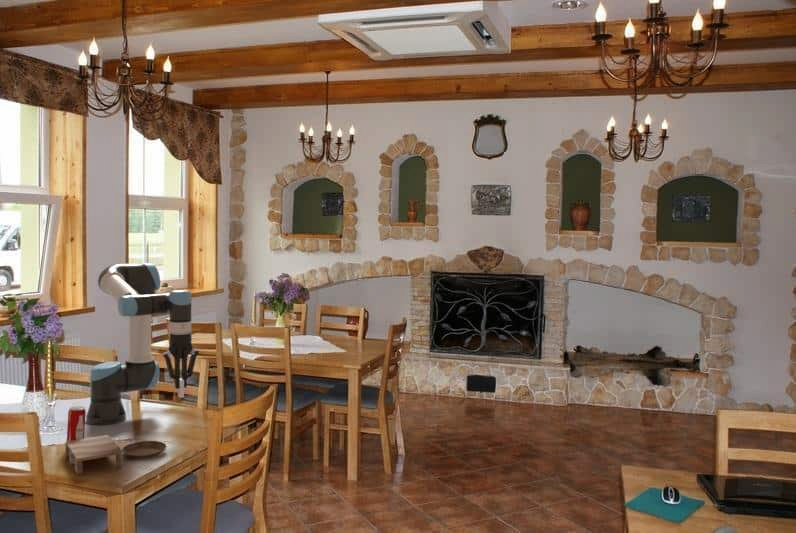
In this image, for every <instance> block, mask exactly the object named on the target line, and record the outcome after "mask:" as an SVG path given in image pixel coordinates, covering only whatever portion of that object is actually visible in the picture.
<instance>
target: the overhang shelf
mask: <svg viewBox="0 0 796 533" xmlns="http://www.w3.org/2000/svg"><path fill="white" fill-rule="evenodd" d="M122 455H123V451H122V449H121V448H120V447H119V445H117V443H116V442H115V441H114V440H113V438H111V436H110V435H109V434H105V435H98V436H91V437H87V438H85V437H84V439H79V440H72V441H67V440H66V441H65V460H68V462H69V463H70V464H71V465H72V464H74V471H75V473H76V474H77V477H83V476H84V467H83V466H84V463H83V462H84V461H89V460H95V459H99V458H100V459H101V458H106V457H111V456H112V457H113V456H115V468H116V470H122Z"/></svg>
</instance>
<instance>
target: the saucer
mask: <svg viewBox="0 0 796 533" xmlns="http://www.w3.org/2000/svg"><path fill="white" fill-rule="evenodd" d="M166 448H167V444H166V443H164V442H162V441H159V440H158V441H157V440H143V441H136V442H133V443H128V444H127V445H126V446H123V448H122V449H121V450H122V454H124V455H125V456H126V457H127V458H129V459H131V460H137V461H141V460H142V461H143V460H144V461H145V460H149V459H154V457H155V458H156V457H157V458H158V457H159V456H160V455H161V454H162V453H163V452H165V450H166Z"/></svg>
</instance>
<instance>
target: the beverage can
mask: <svg viewBox="0 0 796 533" xmlns="http://www.w3.org/2000/svg"><path fill="white" fill-rule="evenodd" d="M67 414H68V415H67V429H66V431H67V432H66V441H72V440H79V439H85V433H86V432H85V430H86V429H85V428H86V415H87V412H86V408H85V407H84V406H78V405H77V406H72V407H70V408H69V410H68V412H67Z"/></svg>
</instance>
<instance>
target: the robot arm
mask: <svg viewBox="0 0 796 533" xmlns="http://www.w3.org/2000/svg"><path fill="white" fill-rule="evenodd" d="M97 285H98V287H99V289H100V290H101V291H102V292H103V293H105V295H108V296H111V297H112V298H113V299H114V300H115V301H116V303H117V310H118V313H119V315H120V316H121V317H129V318H128V319H129V324H128V325H129V330H128V331H129V333H128V337H129V340H128V341H129V342H128V347H129V348H128V349H129V351H128V356H127V357H126V358H125V360H124V361H125V362H124V364H121V362H120V361H117V360H116V361H106V362H105V361H104V362H102V363H99V364H96V365H94V366H93V367H92V368H91V369H90V375H89V381H90V384H89V386H90V387H89V389H90V391H89V392H90V403H89V406H88V409H87V412H86V415H85V423H87V424H89V425H95V426H98V425H101V426H102V425H105V426H106V425H112V424H117V423H121V422H123V421H124V420H126V418H127V416H126V414H127V412H126V409H125V407H124V404H123V401H122V394H123V393H124V394H125V393H130V392H131V393H132V392H137V391H147V390H150V389H154V388H156V386H157V384H158V383H159V379H160V365H159V364H160V363H159V362H158V361H157V360H155V356H153V355H152V353H151V352H152V316H153V315H155V316H156V315H165V314H167V315H169V333H170V334H169V347H168V350H167V351H166V352H163V353H162V354H161V355H162V357H163V358H164V359H165V363H166V368H167V372H168V375H169V378H170V379H172V380H174V388H175V389H177V397H178V398H185V388H187V386H188V385H187V384H188V383H187V380H188V378H191V377H193V372H194V368H195V364H196V359H197V356H198V355H199V352H200V351H199V350H197V349H196V348H195V349H194V347H193V345H192V333H191V332H192V300H193V299H192V293H191V291H190V290H188V289H187V290H185V289H173V290H171V291H170V292H167V291H166V292H163V293H156V291H159V289H161V288H160V287H161V276H160V273H159V271H158V268H157V266H156V265H155V264H153V263H150V262H149V263H147V262H146V263H145V262H138V263H137V262H135V263H115V264H112V265H109V266H107V267H105V268H104V269H103V270H102V271H101V272H100V273H99V276H98V279H97ZM190 354H191V355H190ZM171 355H172V357H173V358H174V359H173V361H174V367H173V364H172V360H171ZM189 355H190V357H189ZM188 357H189V361H188ZM188 362H189V363H188ZM180 365H181V366H180Z"/></svg>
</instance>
